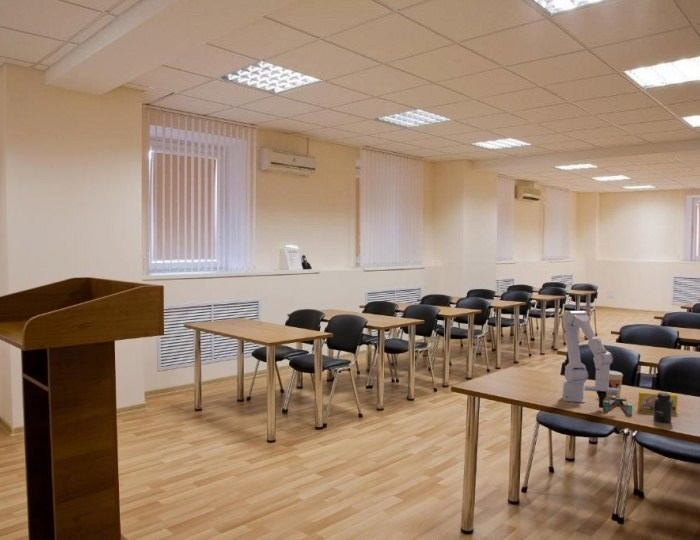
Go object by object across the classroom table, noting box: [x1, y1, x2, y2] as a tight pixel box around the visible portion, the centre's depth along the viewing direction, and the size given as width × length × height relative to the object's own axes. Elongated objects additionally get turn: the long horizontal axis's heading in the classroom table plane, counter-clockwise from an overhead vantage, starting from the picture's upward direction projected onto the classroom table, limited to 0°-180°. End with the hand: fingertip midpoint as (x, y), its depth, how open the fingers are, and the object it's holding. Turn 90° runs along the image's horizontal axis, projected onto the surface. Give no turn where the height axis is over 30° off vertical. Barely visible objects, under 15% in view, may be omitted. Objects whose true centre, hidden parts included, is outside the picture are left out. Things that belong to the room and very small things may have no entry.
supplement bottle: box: [653, 392, 673, 424], centre depth 236 cm, size 7×7×12 cm
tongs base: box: [609, 396, 633, 416], centre depth 253 cm, size 7×17×4 cm, turn 164°
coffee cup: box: [605, 369, 624, 398], centre depth 277 cm, size 9×9×12 cm
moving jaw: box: [602, 399, 616, 413], centre depth 253 cm, size 2×12×4 cm, turn 139°
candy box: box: [637, 391, 678, 413], centre depth 252 cm, size 16×2×8 cm, turn 80°
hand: (600, 407), depth 251 cm, fingers closed, pressing on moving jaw
